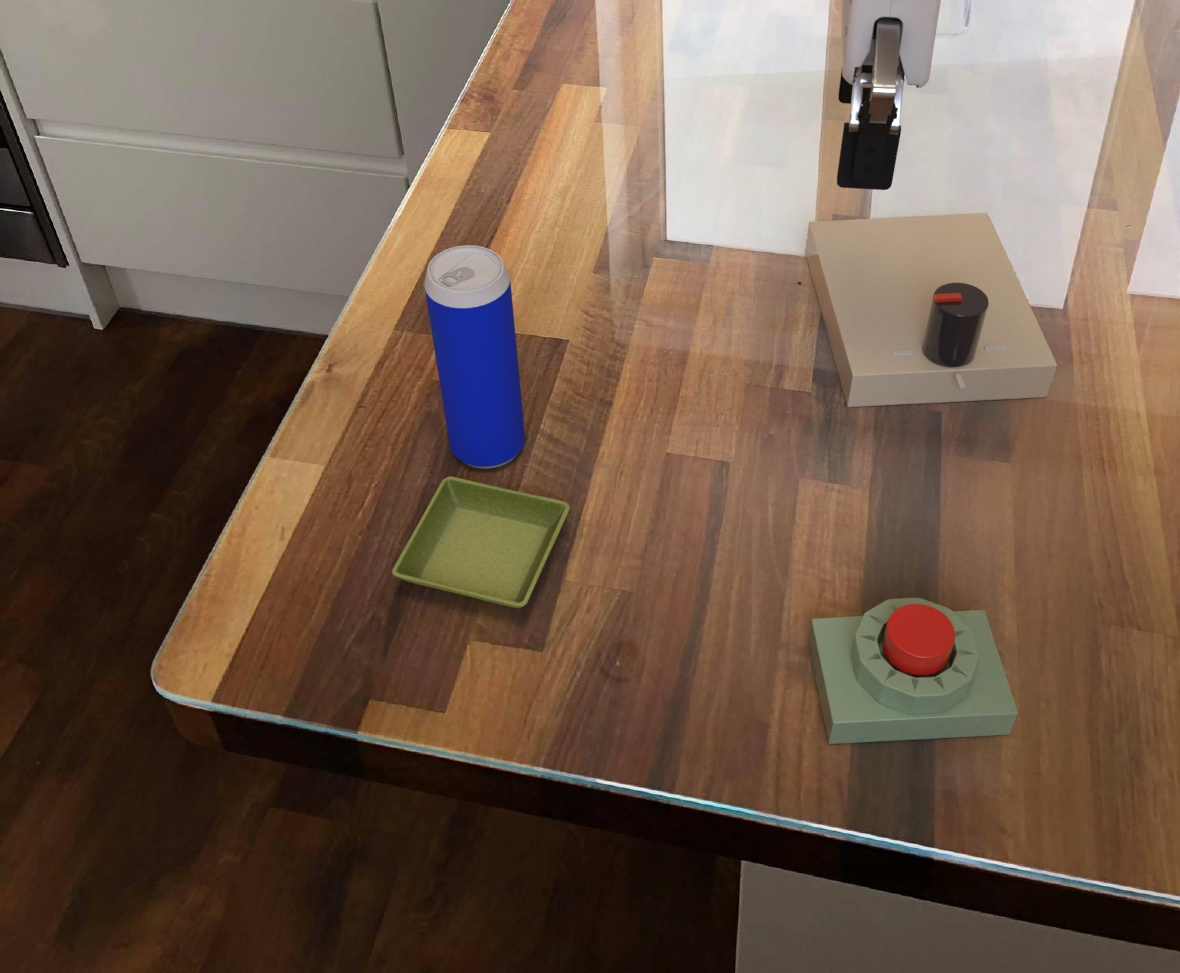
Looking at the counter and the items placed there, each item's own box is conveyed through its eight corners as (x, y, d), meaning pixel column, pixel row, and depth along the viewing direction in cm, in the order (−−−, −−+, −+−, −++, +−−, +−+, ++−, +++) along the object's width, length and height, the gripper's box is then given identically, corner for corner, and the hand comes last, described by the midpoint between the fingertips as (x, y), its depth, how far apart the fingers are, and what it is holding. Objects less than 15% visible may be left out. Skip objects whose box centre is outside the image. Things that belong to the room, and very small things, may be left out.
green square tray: (448, 495, 81) (445, 473, 79) (573, 523, 79) (572, 501, 77) (393, 595, 75) (389, 574, 73) (527, 628, 73) (524, 607, 71)
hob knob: (967, 332, 86) (981, 277, 82) (981, 366, 83) (996, 311, 80) (916, 335, 86) (928, 279, 82) (928, 369, 83) (941, 313, 80)
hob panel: (979, 244, 98) (988, 210, 95) (1055, 416, 84) (1067, 382, 82) (805, 252, 97) (809, 219, 95) (852, 426, 84) (858, 392, 82)
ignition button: (940, 620, 68) (946, 601, 67) (956, 674, 66) (963, 655, 64) (876, 624, 68) (880, 604, 67) (889, 678, 66) (894, 659, 64)
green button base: (976, 631, 72) (991, 589, 69) (1009, 734, 67) (1026, 694, 64) (807, 640, 72) (814, 598, 69) (828, 744, 67) (836, 704, 64)
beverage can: (491, 409, 86) (470, 231, 75) (541, 445, 83) (526, 266, 73) (434, 446, 84) (404, 269, 73) (484, 485, 81) (460, 306, 70)
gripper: (993, -79, 57) (930, 227, 70) (970, -205, 69) (919, 76, 82) (831, -84, 58) (797, 219, 71) (835, -207, 70) (806, 71, 83)
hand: (863, 142), depth 76 cm, fingers open, 9 cm apart
